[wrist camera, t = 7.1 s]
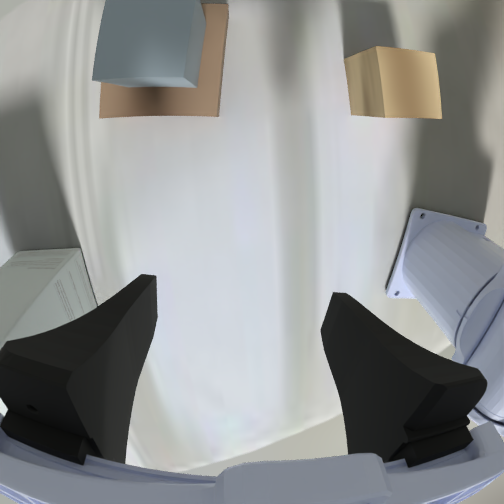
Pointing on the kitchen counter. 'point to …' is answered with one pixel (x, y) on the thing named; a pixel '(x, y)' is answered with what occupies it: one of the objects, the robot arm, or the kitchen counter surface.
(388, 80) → the oak block
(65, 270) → the supplement box
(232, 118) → the kitchen counter surface
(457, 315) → the robot arm
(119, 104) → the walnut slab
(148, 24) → the slate block
